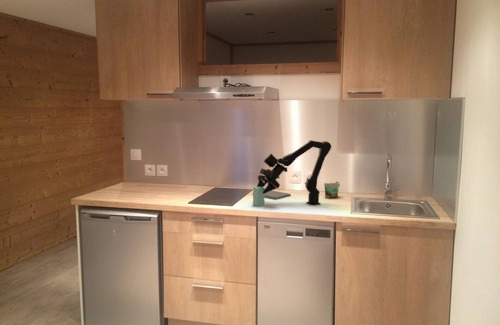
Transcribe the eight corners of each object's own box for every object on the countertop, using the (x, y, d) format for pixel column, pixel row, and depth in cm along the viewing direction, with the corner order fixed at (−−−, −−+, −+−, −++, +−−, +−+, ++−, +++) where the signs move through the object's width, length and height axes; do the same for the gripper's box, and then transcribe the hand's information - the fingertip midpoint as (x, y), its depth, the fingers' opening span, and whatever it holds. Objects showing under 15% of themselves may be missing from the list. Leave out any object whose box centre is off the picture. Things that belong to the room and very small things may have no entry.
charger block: (264, 206, 227) (264, 188, 226) (256, 206, 225) (257, 188, 224) (260, 204, 232) (260, 186, 230) (253, 205, 230) (253, 187, 228)
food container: (330, 199, 245) (331, 184, 244) (323, 198, 250) (324, 183, 249) (343, 197, 252) (343, 182, 251) (336, 195, 257) (336, 181, 256)
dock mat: (290, 195, 256) (290, 193, 255) (275, 199, 244) (275, 197, 244) (267, 191, 269) (267, 189, 269) (252, 195, 257) (252, 192, 257)
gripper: (260, 161, 236) (244, 180, 233) (275, 165, 220) (258, 185, 216) (271, 173, 241) (255, 192, 237) (286, 178, 224) (270, 198, 221)
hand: (259, 191), depth 228 cm, fingers open, 9 cm apart
